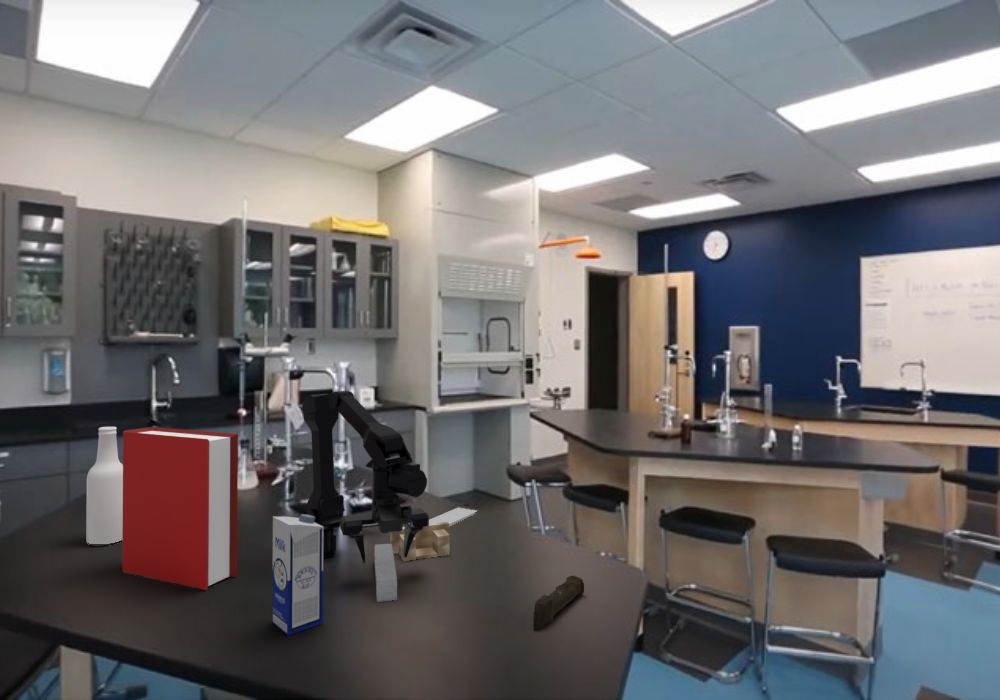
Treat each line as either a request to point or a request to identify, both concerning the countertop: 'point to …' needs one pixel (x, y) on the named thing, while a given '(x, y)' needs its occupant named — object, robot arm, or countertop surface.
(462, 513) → the baseboard
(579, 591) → the dark brown lumpy bar
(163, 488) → the book
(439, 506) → the countertop surface
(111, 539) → the alcohol
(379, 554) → the rail
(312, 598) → the milk carton
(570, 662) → the countertop surface
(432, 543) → the beige studded block
